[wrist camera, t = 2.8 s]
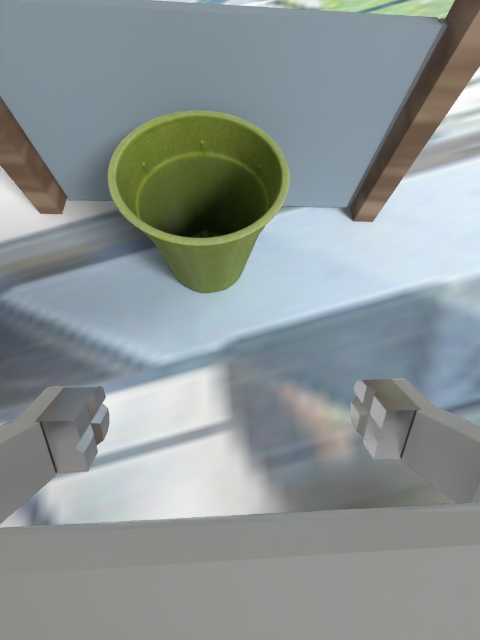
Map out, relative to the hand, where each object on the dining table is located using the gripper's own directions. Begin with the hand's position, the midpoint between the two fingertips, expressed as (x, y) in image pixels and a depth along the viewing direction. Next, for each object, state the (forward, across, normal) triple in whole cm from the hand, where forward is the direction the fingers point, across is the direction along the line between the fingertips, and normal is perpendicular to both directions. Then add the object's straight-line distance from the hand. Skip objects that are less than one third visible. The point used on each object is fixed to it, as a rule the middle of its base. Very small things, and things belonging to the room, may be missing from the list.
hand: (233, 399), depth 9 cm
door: (+27, +1, -7) cm, 28 cm away
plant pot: (+22, +2, 0) cm, 22 cm away
